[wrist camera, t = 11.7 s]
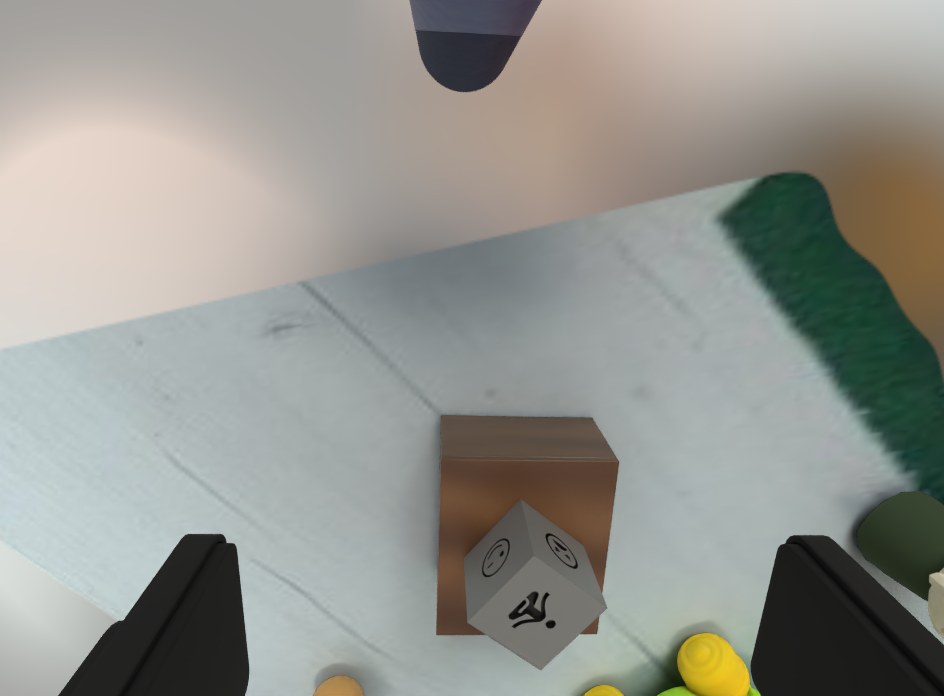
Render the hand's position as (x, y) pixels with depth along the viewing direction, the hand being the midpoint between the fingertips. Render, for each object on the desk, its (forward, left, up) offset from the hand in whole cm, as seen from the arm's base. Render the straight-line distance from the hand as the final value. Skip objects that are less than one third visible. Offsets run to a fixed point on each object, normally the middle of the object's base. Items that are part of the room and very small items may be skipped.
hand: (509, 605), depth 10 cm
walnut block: (+14, +4, -26) cm, 30 cm away
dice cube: (+14, +4, -20) cm, 25 cm away
